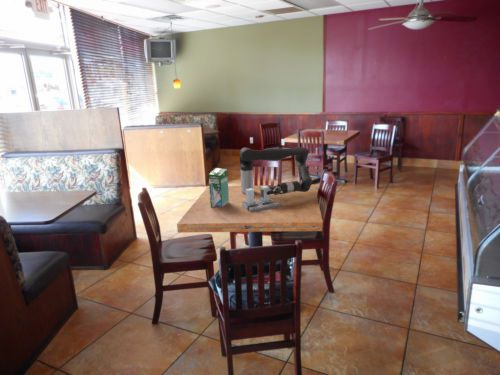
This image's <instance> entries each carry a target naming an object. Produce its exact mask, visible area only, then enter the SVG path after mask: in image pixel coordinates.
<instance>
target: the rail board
mask: <svg viewBox="0 0 500 375" xmlns="http://www.w3.org/2000/svg"><path fill="white" fill-rule="evenodd" d="M241 203H242V204H241V205H240V206H241V207H242V208H244V209H246V210H247V211H248V212H250V213H251V214H253V213H257V212H262V211H263V212H264V211H269V210H273V209H274V210H275V209H279V208H282V205H281V204H280V202H279V201H277V202H274V200H273V199H272V198H269V201H266V202H262V201H261V198H258V199H256V201H255V200H254V204H250V205H247V204H246V200H244V201H241Z"/></svg>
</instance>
